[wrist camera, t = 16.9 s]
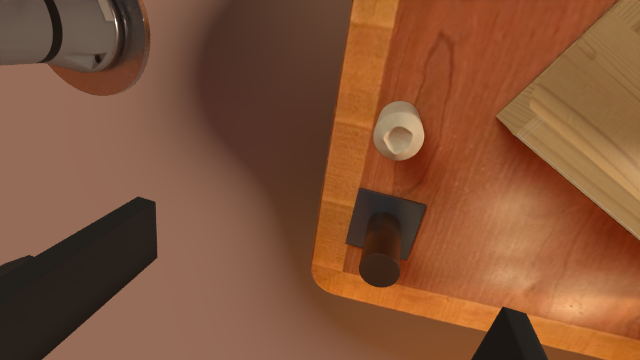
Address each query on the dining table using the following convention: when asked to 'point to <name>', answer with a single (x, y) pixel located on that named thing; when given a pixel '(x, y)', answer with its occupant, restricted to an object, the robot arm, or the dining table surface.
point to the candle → (398, 131)
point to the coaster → (400, 208)
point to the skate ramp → (590, 114)
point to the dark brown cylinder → (381, 250)
